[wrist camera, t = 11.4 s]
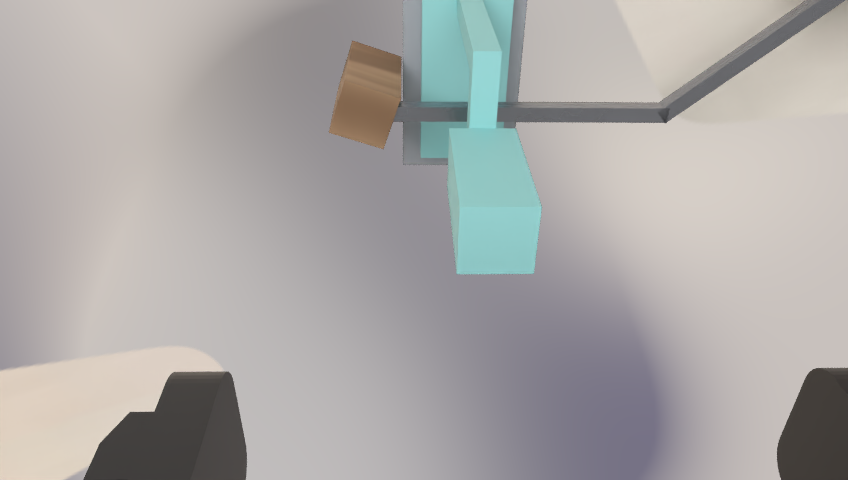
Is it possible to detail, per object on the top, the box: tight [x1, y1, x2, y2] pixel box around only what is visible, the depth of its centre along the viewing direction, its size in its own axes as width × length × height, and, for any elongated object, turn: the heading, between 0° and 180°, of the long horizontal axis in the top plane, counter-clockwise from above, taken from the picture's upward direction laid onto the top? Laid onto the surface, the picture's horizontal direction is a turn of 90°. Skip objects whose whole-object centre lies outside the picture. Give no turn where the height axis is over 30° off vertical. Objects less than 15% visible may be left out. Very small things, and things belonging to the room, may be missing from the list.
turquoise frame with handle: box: [420, 0, 542, 274], centre depth 34 cm, size 5×10×18 cm, turn 179°
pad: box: [403, 0, 527, 165], centre depth 42 cm, size 7×12×1 cm, turn 179°
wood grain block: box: [329, 41, 401, 149], centre depth 37 cm, size 4×30×7 cm, turn 106°
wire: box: [393, 0, 845, 123], centre depth 36 cm, size 6×26×1 cm, turn 106°
